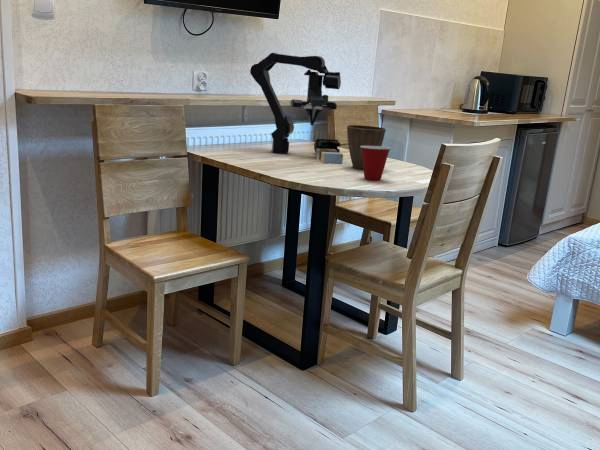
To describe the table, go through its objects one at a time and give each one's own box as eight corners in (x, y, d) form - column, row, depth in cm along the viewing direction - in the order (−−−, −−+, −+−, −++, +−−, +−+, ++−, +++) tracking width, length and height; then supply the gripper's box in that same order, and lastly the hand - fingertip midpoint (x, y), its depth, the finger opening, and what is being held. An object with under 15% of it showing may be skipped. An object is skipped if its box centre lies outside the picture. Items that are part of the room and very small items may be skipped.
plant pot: (337, 164, 236) (340, 124, 232) (370, 164, 241) (374, 125, 237) (353, 171, 223) (357, 129, 219) (388, 171, 228) (393, 130, 224)
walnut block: (318, 149, 244) (337, 150, 246) (316, 148, 248) (334, 149, 250) (318, 159, 245) (336, 160, 247) (315, 157, 249) (334, 158, 251)
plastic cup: (378, 176, 218) (382, 143, 214) (392, 182, 208) (396, 148, 205) (352, 176, 214) (355, 142, 211) (365, 182, 204) (368, 147, 201)
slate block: (323, 153, 236) (343, 154, 237) (321, 151, 240) (340, 152, 241) (322, 163, 237) (342, 164, 238) (320, 161, 241) (339, 162, 242)
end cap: (334, 153, 265) (335, 138, 263) (340, 156, 258) (341, 141, 256) (313, 153, 262) (314, 137, 260) (318, 155, 255) (319, 140, 253)
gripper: (296, 86, 235) (293, 126, 239) (341, 90, 239) (338, 128, 243) (291, 85, 246) (288, 123, 250) (334, 88, 250) (331, 125, 254)
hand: (311, 125), depth 249 cm, fingers closed
